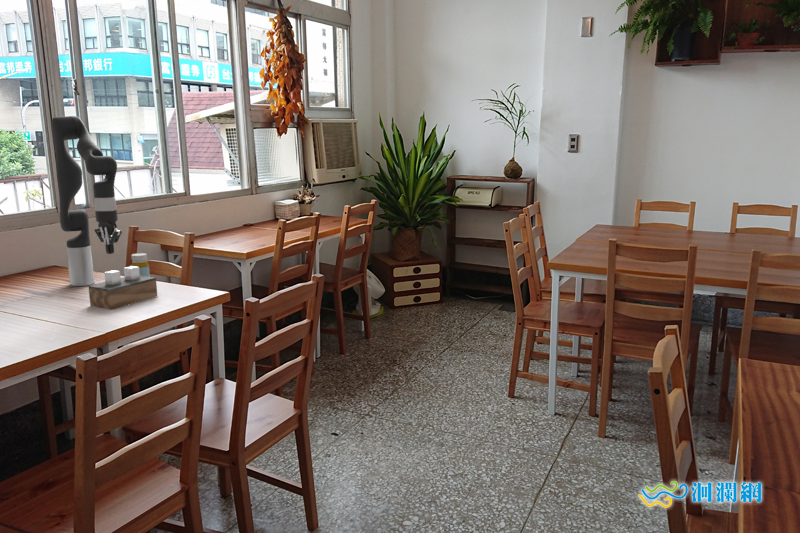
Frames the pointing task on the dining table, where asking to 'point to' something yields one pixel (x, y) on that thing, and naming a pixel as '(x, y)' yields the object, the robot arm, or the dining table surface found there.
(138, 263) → the bottle
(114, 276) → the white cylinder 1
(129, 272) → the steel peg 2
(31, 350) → the dining table surface
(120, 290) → the walnut block
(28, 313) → the dining table surface
